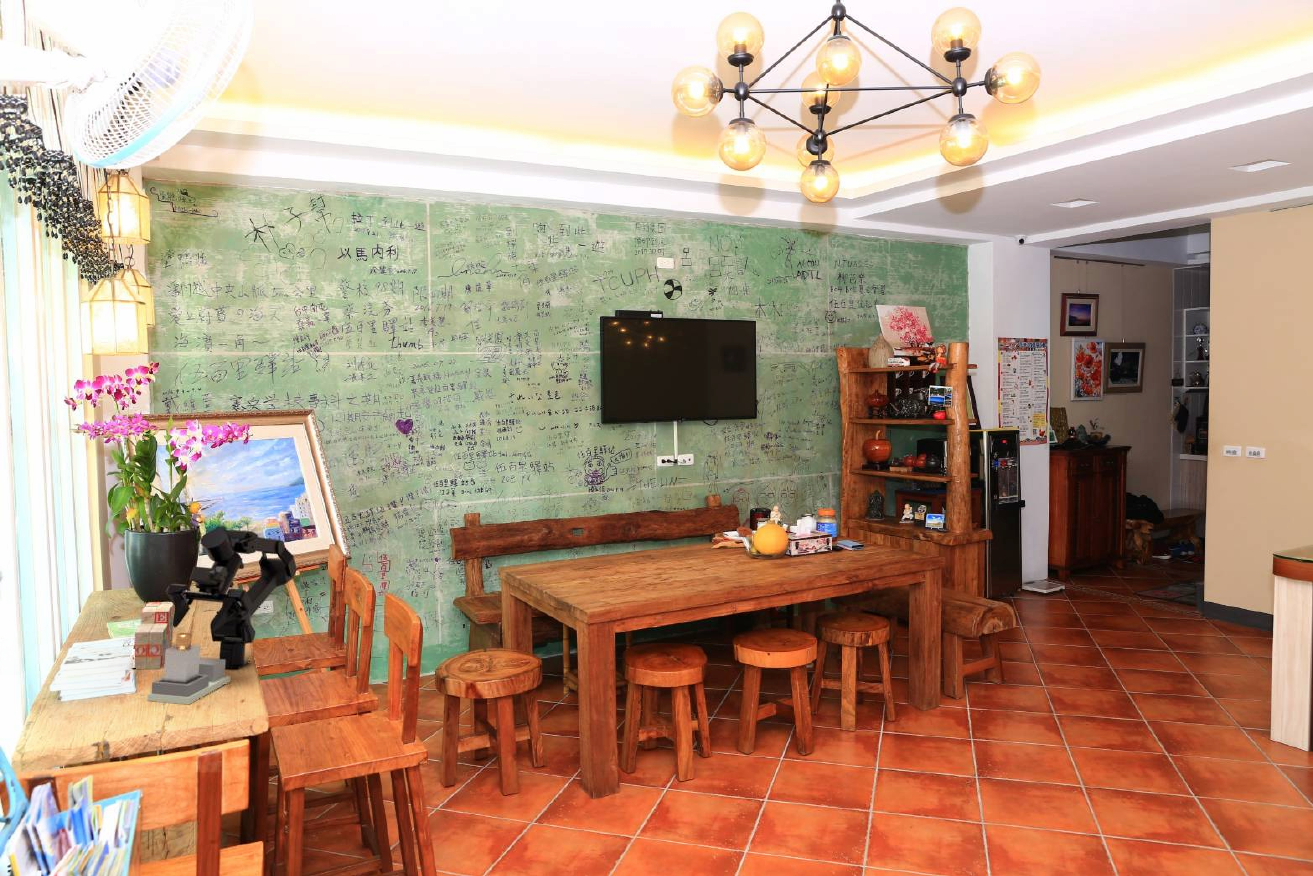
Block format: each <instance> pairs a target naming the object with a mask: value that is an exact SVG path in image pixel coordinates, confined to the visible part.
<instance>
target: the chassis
mask: <svg viewBox="0 0 1313 876" xmlns="http://www.w3.org/2000/svg"><path fill="white" fill-rule="evenodd" d="M225 661H226V660H225V659H219V658H213V657H212V658H211V657H201V656H200V659H199V674H198V679H197V680H195V681H193V682H191V683H189V684H178V683H167V682H164V676H163V677H160V678H159V679H156V680H155V681H153V682H151V692H149V693H147V702H157V703H166V704H169V703H170V704H179V705H190V704H192V703H195V702H196V701H199V700H200V699H202V698H204V697H206V696H207V695H206V694H208V693H209V694H211V693H213V692H214V691H213V690H215V689H216V688H219V687H221V686H222V685H224V684H225V683H228V682H230V683H231V675H225V673H226V668H225ZM228 684H229V683H228ZM224 686H225V685H224ZM222 687H223V686H222ZM222 687H221V688H222ZM219 689H220V688H219ZM212 691H213V692H212ZM215 691H216V690H215ZM210 692H211V693H210ZM209 694H208V695H209ZM205 695H206V696H205ZM203 696H204V697H203ZM199 698H200V699H199Z"/></svg>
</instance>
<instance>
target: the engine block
mask: <svg viewBox="0 0 1313 876" xmlns="http://www.w3.org/2000/svg"><path fill="white" fill-rule="evenodd" d="M200 654H201V645H193V644H192V633H191V632H180V633H177V634H176V636H175V645H172V647H171V648H168V649H166V651H165V660H164V668H163V669H164V670H163V677H164V682H167V683H178V684H189V683H191V682H193V681H195V680H197V679H198V674H199V659H200V657H201V656H200Z"/></svg>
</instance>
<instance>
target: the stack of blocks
mask: <svg viewBox="0 0 1313 876" xmlns="http://www.w3.org/2000/svg"><path fill="white" fill-rule="evenodd" d="M174 610H175V605H174V604H173V603H172V601H162V602H161V601H157V602H156V601H153V602H152V601H151V602H147V603H146V604H145V605H144V607H143V609H142V611H141V618H140V625H139V626H138V627H137V628H136V630H135V631H134V644H133V647H132V648H133V649H135V668H136V669H135V670H153V669H154V670H155V669H156V670H157V669H161V667H162V666H163V664H164V663H165V651H166V649H168V648H171V647H173V630H174V626H173V619H174Z"/></svg>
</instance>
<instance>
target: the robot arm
mask: <svg viewBox="0 0 1313 876" xmlns="http://www.w3.org/2000/svg"><path fill="white" fill-rule="evenodd" d="M200 544H201V547H202V548H203V550H204V551H205V553H206V554H207V557H208V558H209V560H211V561H212V562H213V564H212V566H211V567H202V566H193V569H192V571H191V575H190V577H189V581H191V582H195V585H194V586H195V588H196V589H199V590H198V591H195V590H191V588H190V587H189V585H188V584H179V583H171V584H169V586H168V587H167V589H166V590H165V594H166V595H167V597H168V598H169V600H170V602H172V603H173V604H174V619H173V629H174V628H177V627H178V626H179V625H180V624H181V622H182V621H183V619H184V618H185V616H186V615H187V614H188V612H190V611H189V610H190V609H191V607H190V606H191V605H192V604H193V602H194V601H204V602H209V603H210V602H211V603H222V605H221V608H220V609H219V610H217V611H216V614H215V615H214V617H213V618H212V619H211V622H210V627H209V628H210V629H209V630H210V634H211V641H212V642H216V643H217V642H219V643H220V647H219V655H218V656H219V658H218V659H225V660H226V661H225V669H230V668H239V667H241V668H243V667H244V665H245V666H246V664H247V663H248V662H250V663H251V660H245V654H246V645H247V644H252V643H253V642H254V641H255V638H256V637H255V636H256V630H255V629H254V627H253V625H252V622H251V620H252V619H251V617H253V615H254V614H255V613H256V611H258V609H259V608H260V607H261V605H262V604H263V603H264V602H265V601H266V600H267V598H268V597H269V596H270V595H271V594H272V593H273V592H274V590H275V589H276V588H277V587H280V586H281V587H282V586H284V585H286V584H288V583H289V582H290V581H291V580H292V579H294V577H295V576H296V573H297V564H296V561H295V557H294V555H293V554H292V553H291V552H290V551H289V550H288V549H287V548H286V545H285V541H283V540H281V539H280V538H276V539H275V538H266V537H259V534H257V533H256V532H254V531H252V530H241V529H239V530H237V529H226V527H225V526H218V525H217V526H215V529H212V530H208V531H207V532H206V533H205V534H203V535H202V536H201V539H200ZM256 552H258V553H259V552H260V553H261V556H260V559H259V560H258V565H259V567H260V576H259V577H258V578H257V580H256V581H255V582H254V583H253V584H252V585H251V586H250V587H249V589H248V590H246V589H241V588H240V589H239V588H233V587H234V585H235V583H234V578H235V576H236V575H237V572H238V571H239V570H243V569H244V568H245V564H244V562H243V557H241V554H243V555H245V554H246V555H250V554H255V553H256ZM267 554H268V555H269V554H271V555H277V556H278V558H273V557H272V558H271V557H268V556H267ZM248 664H249V663H248ZM248 664H247V665H248ZM242 666H243V667H242ZM239 669H240V668H239Z"/></svg>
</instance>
